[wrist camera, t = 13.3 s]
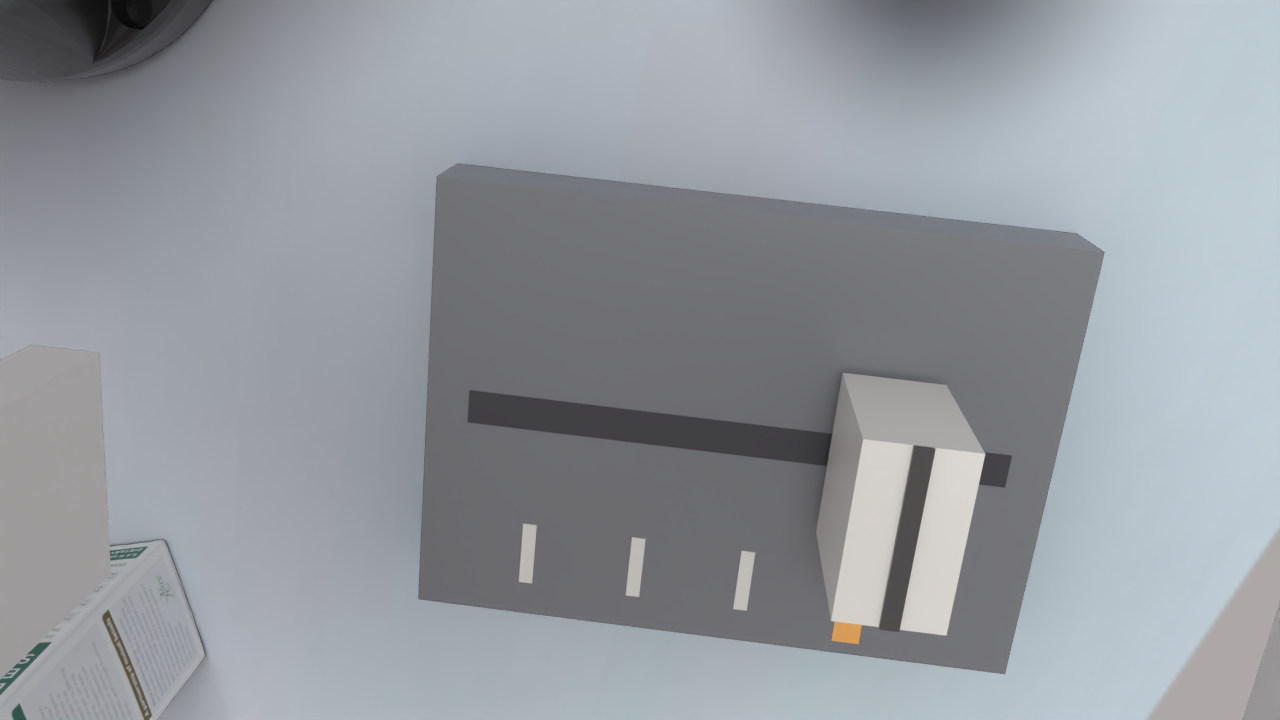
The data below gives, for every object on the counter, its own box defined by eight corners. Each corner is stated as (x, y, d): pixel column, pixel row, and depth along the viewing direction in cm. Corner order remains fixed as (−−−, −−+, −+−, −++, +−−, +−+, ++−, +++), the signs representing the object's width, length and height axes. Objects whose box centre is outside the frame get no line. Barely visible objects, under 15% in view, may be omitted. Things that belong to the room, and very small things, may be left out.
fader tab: (815, 531, 40) (831, 623, 34) (842, 372, 38) (863, 441, 32) (915, 543, 40) (947, 638, 34) (946, 384, 38) (986, 455, 32)
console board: (437, 561, 45) (418, 600, 42) (457, 163, 40) (436, 176, 37) (987, 630, 44) (1005, 674, 42) (1077, 233, 39) (1105, 252, 36)
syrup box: (167, 534, 46) (-73, 765, 32) (211, 659, 47) (2, 930, 34) (40, 554, 47) (-249, 789, 33) (88, 676, 48) (-167, 948, 34)
